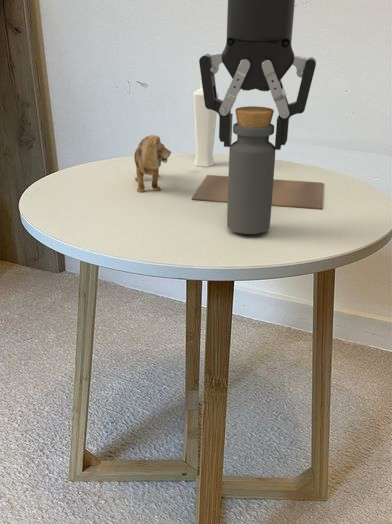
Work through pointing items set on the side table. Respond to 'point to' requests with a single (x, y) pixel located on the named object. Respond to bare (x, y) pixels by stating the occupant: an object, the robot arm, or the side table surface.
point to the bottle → (251, 171)
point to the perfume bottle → (204, 129)
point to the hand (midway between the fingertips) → (252, 146)
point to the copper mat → (283, 193)
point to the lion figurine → (150, 160)
